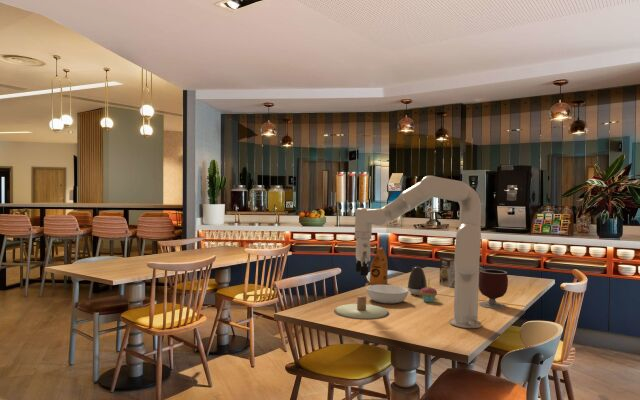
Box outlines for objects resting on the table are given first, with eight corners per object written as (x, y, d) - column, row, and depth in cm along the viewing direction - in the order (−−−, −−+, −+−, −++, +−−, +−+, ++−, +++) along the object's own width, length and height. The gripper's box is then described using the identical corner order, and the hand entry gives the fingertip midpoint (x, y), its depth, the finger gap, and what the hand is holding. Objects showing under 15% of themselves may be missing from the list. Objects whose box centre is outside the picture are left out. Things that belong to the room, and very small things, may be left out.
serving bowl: (375, 308, 219) (375, 293, 219) (360, 298, 239) (360, 285, 239) (415, 306, 225) (415, 292, 225) (397, 296, 245) (397, 283, 245)
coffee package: (366, 285, 275) (367, 248, 275) (374, 281, 286) (375, 246, 286) (382, 287, 271) (383, 249, 270) (389, 283, 282) (390, 247, 281)
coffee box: (438, 284, 283) (439, 258, 283) (447, 283, 286) (447, 257, 285) (448, 287, 275) (449, 260, 274) (457, 286, 277) (458, 259, 277)
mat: (396, 320, 197) (396, 319, 197) (338, 321, 194) (338, 319, 194) (381, 306, 222) (381, 305, 222) (329, 307, 218) (329, 305, 218)
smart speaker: (419, 291, 259) (420, 264, 259) (430, 295, 250) (431, 267, 249) (403, 292, 256) (404, 265, 256) (414, 296, 246) (414, 268, 246)
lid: (393, 318, 198) (394, 302, 198) (340, 319, 195) (341, 302, 195) (379, 305, 221) (380, 291, 221) (332, 306, 218) (332, 291, 218)
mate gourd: (505, 303, 234) (506, 264, 233) (509, 310, 220) (510, 268, 220) (473, 301, 238) (474, 262, 238) (474, 307, 224) (475, 266, 224)
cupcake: (437, 303, 231) (437, 279, 231) (419, 302, 232) (420, 278, 232) (436, 299, 239) (437, 276, 239) (419, 298, 241) (420, 275, 241)
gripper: (376, 237, 199) (374, 277, 200) (366, 233, 217) (365, 270, 217) (358, 237, 198) (357, 276, 199) (351, 233, 216) (349, 270, 216)
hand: (361, 273), depth 208 cm, fingers open, 9 cm apart
